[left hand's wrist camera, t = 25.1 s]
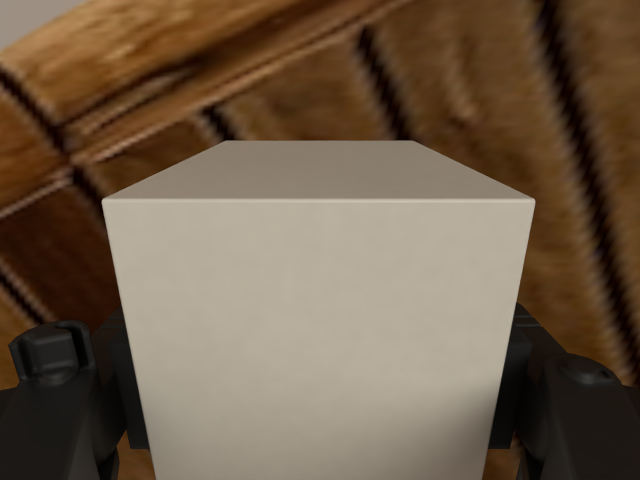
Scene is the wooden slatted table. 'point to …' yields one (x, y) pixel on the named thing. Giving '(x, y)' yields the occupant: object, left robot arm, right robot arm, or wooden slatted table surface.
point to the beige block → (318, 309)
